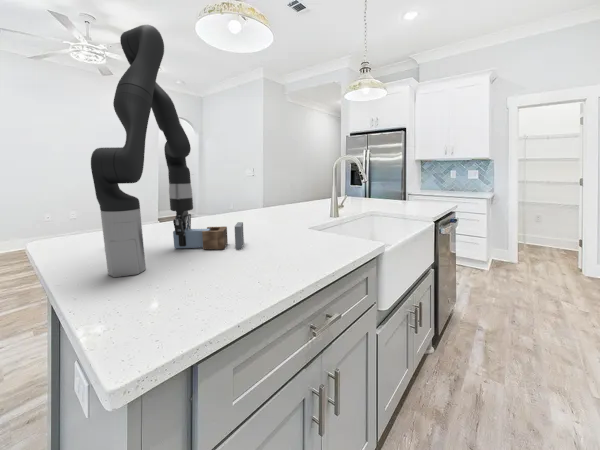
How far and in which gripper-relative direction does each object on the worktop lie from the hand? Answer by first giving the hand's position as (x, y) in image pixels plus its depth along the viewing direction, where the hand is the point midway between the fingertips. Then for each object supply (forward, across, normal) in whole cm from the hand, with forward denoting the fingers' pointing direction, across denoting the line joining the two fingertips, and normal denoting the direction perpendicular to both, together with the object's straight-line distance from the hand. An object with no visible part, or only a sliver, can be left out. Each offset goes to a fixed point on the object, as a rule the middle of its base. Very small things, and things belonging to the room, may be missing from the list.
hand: (184, 244), depth 113 cm
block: (+1, 0, +11) cm, 11 cm away
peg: (+1, 0, +3) cm, 3 cm away
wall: (+1, 0, +20) cm, 20 cm away
